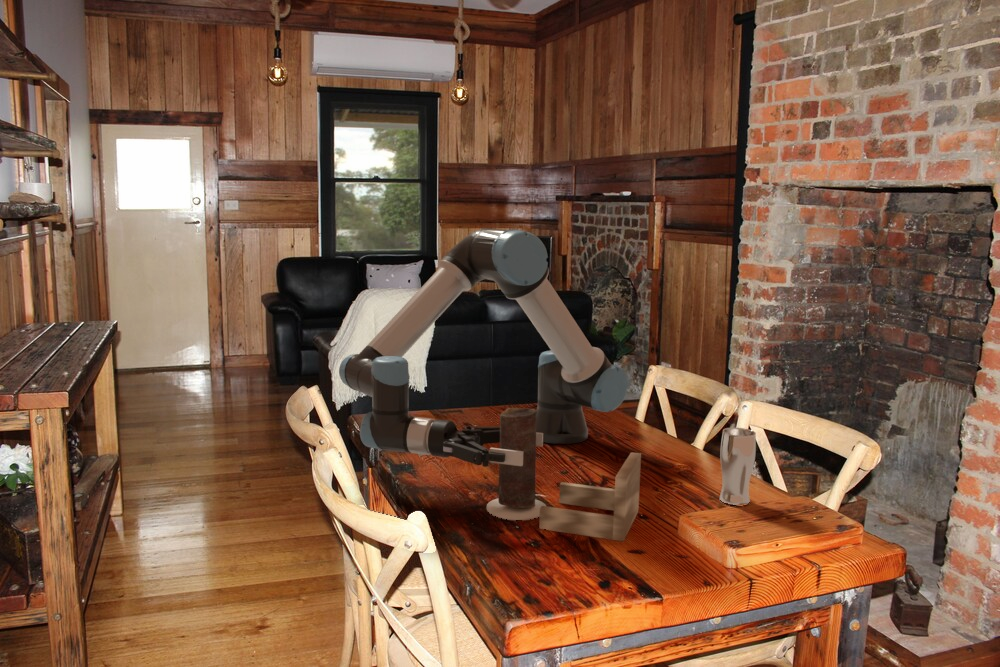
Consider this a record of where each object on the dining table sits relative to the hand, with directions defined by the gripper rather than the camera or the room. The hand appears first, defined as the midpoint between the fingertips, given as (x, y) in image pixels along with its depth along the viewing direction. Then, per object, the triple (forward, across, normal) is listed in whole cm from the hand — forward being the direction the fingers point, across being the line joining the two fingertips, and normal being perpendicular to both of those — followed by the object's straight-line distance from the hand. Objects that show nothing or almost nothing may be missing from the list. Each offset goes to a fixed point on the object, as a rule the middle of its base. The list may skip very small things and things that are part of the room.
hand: (533, 449), depth 163 cm
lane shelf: (+11, 0, -13) cm, 17 cm away
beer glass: (+38, -21, -13) cm, 45 cm away
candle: (-3, 0, -12) cm, 13 cm away
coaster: (-3, 0, -13) cm, 13 cm away
